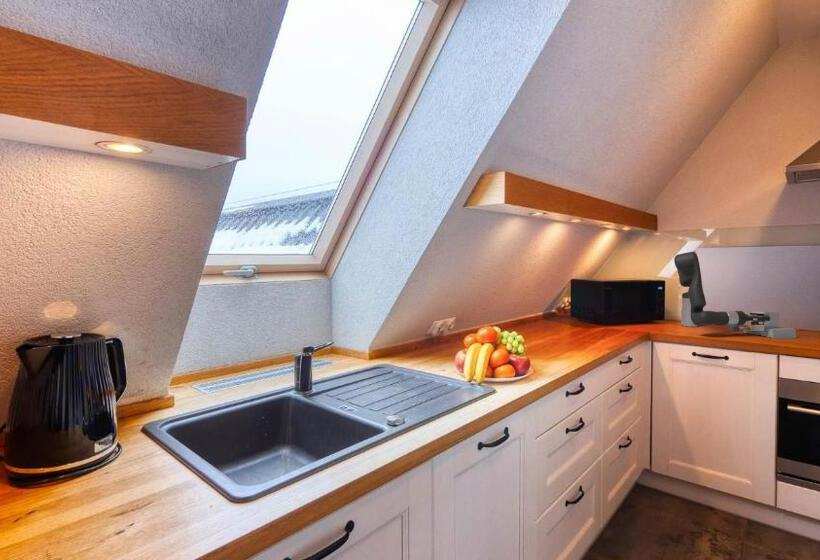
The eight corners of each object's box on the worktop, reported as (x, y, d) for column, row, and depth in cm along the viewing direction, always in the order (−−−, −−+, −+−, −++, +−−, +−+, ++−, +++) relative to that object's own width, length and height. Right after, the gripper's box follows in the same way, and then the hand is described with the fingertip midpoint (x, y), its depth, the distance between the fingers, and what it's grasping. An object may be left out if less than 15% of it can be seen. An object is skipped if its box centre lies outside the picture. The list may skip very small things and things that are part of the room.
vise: (743, 332, 251) (743, 324, 251) (764, 332, 252) (764, 324, 252) (773, 338, 231) (773, 329, 231) (796, 338, 232) (796, 329, 232)
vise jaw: (729, 330, 248) (729, 325, 248) (769, 330, 249) (769, 324, 249) (734, 331, 245) (734, 326, 245) (774, 331, 245) (774, 325, 245)
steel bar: (763, 332, 242) (764, 311, 241) (773, 332, 242) (773, 311, 241) (769, 333, 238) (769, 312, 238) (778, 333, 238) (778, 312, 238)
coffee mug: (747, 330, 261) (747, 312, 261) (751, 328, 267) (751, 311, 267) (773, 332, 253) (773, 314, 252) (776, 330, 258) (776, 312, 258)
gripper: (743, 312, 232) (774, 311, 232) (723, 309, 246) (752, 309, 247) (743, 326, 232) (774, 326, 233) (723, 323, 246) (752, 323, 247)
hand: (763, 317), depth 240 cm, fingers open, 8 cm apart
